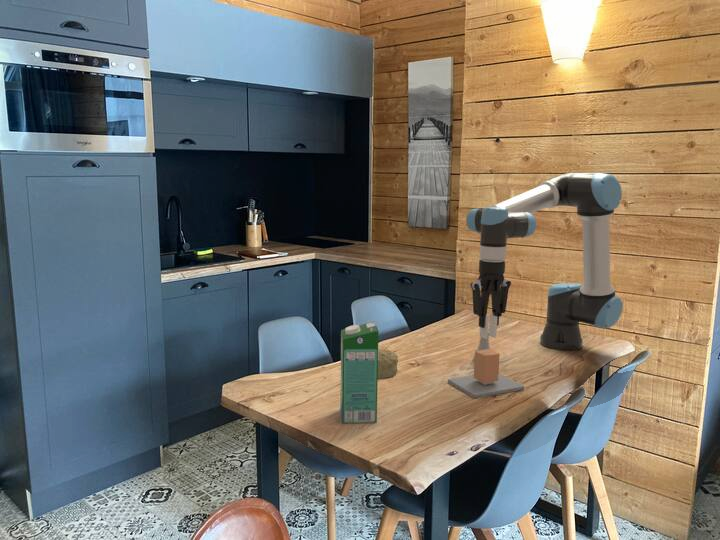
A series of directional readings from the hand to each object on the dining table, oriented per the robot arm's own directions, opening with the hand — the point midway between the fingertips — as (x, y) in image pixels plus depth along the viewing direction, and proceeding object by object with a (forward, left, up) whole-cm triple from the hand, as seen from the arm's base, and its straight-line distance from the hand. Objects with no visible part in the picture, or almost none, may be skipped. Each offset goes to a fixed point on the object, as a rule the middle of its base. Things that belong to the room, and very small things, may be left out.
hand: (488, 336), depth 183 cm
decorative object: (+24, -22, -16) cm, 36 cm away
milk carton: (+45, +5, -16) cm, 48 cm away
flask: (-13, -19, -16) cm, 28 cm away
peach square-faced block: (0, 0, -14) cm, 14 cm away
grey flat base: (0, 0, -16) cm, 16 cm away
